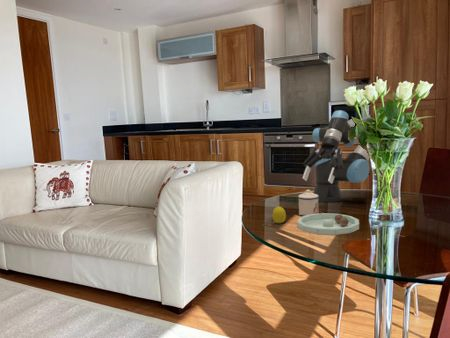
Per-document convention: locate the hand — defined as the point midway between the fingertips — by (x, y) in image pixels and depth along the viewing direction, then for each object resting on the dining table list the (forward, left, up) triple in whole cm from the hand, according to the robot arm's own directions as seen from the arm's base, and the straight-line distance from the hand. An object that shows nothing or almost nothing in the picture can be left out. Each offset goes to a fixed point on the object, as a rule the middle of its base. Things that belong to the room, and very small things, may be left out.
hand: (316, 180), depth 163 cm
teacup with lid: (+3, -2, -16) cm, 16 cm away
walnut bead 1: (+10, +17, -14) cm, 25 cm away
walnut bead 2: (+13, +21, -14) cm, 28 cm away
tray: (+16, +16, -15) cm, 27 cm away
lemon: (+24, -2, -16) cm, 29 cm away
